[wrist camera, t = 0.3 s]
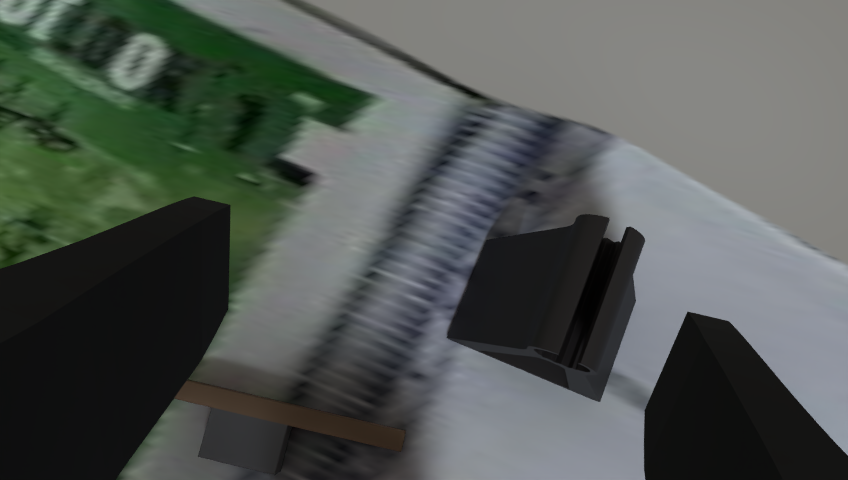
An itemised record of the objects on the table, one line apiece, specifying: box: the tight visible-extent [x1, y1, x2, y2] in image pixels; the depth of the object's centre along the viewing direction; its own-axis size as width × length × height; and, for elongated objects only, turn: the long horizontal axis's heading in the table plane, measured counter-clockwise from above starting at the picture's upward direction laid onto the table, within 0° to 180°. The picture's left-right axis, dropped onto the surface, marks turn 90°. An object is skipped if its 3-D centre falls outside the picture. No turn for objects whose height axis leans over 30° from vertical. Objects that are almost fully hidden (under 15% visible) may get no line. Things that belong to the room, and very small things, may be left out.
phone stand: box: [447, 214, 645, 402], centre depth 35 cm, size 9×6×12 cm, turn 67°
